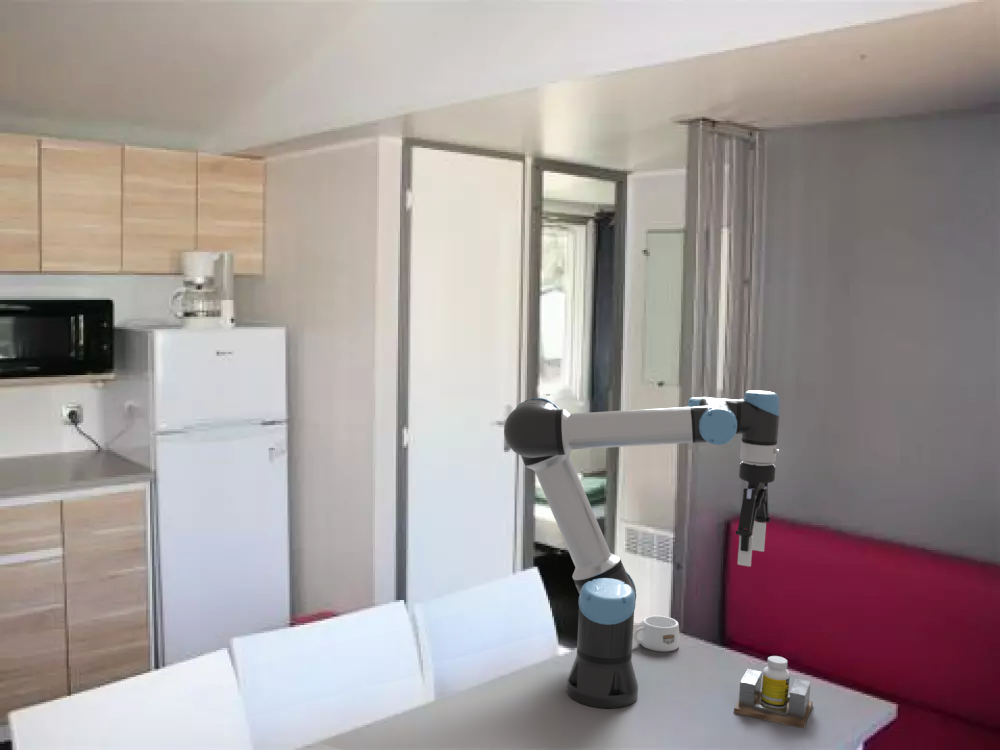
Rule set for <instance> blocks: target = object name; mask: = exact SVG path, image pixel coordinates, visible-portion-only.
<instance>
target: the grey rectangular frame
mask: <svg viewBox="0 0 1000 750" xmlns="http://www.w3.org/2000/svg"><path fill="white" fill-rule="evenodd" d="M762 680H763V671H760V670H757V669H751V668H747V669H746V672H745V673H744V674H743V676H742V678H741V680H740V681H739V696H738V700H739V705H741V706H745V707H750V708H753V710H757V711H761V712H766V713H770V714H775V715H779V716H784V717H787V716H790V717H795V718H799V719H804V716H805V713H806V711H807V708H808V705H809V701H810V694H811V693H810V692H811V683H812V682H811V681H810V680H805V679H799V678H795V679H794V682H793V685H792V687H791V689H790V690H789V694H788V701H789V710H788V711H785V710H781V709H776V708H772V707H767V706H762V705H758V704H756V702H757V700H758V698H759V696H760V693H761V691H762Z"/></svg>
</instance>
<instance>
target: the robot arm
mask: <svg viewBox="0 0 1000 750" xmlns="http://www.w3.org/2000/svg"><path fill="white" fill-rule="evenodd" d="M780 416H781V414H780V396H779V395H778V394H777V393H776V392H772V391H768V390H747V391H746V392H745V393H744V396H743V398H740V399H735V398H734V399H731V398H721V397H720V398H717V397H707V396H702V397H700V396H699V397H698V396H696V397H695V396H692V397H690V398H689V399H688V401H687V406H683V407H682V406H680V407H679V406H678V407H666V408H665V407H664V408H647V409H646V408H644V409H630V410H629V409H628V410H626V409H625V410H612V411H597V412H595V411H594V412H581V413H580V412H579V413H577V412H575V413H569V411H567V410H566V409H564V408H561V409H560V407H559V406H558V405H557V404H556V403H555V402H553V401H551V400H549V399H548V398H547V399H546V398H542V397H535V398H530V399H525V400H524V401H522V402H520V403H519V404H518V405H517V406H516V407H515V409H513V410H512V411H511V412H510V413H509V414H508V416H507V418H506V420H505V423H504V427H503V435H504V440H505V441H506V444H507V445H508V447H509V448H510V449H511V451H512V452H514V453H515V454H516V455H518V456H520V457H521V460H522V462H523V464H524V466H525V467H526V468H528V469H530V470H533V471H534V473H535V475H536V477H537V480H538V482H539V484H540V487H541V490H542V492H543V494H544V497H545V498H546V501H547V503H548V506H549V508H550V511H551V512H552V513H551V514H552V515H553V518H554V520H555V522H556V524H557V528H558V529H559V532H560V533H561V536H562V539H563V541H564V544H565V546H566V548H567V551H568V553H569V556H570V558H571V560H572V562H573V565H574V567H575V568H574V571H573V573H572V579H573V581H574V584H575V587H576V589H577V592H578V594H579V596H578V620H577V621H578V623H577V625H578V626H577V641H576V642H577V644H576V645H577V646H576V656H575V658H574V659H575V660H574V661H573V664H572V667H571V669H570V672H569V674H568V677H567V681H566V693H567V694H568V696H569V697H570V698H571V699H573V700H574V701H576V702H578V703H580V704H583V705H587V706H588V707H589V706H590V707H594V708H603V709H614V708H616V709H617V708H622V707H627V706H629V705H632V704H634V702H636V701H637V700H638V697H639V692H638V691H639V684H638V679H637V677H636V673H635V669H634V668H635V667H634V665H633V661H632V660H633V658H632V656H633V642H634V641H633V639H634V636H633V635H634V621H635V620H634V618H635V610H636V601H637V589H636V585H635V582H634V580H633V578H632V576H630V574H629V573H628V572H627V570H626V569H625V568H626V567H625V566H624V564H623V563H622V559H621V557H620V556H618V555H616V554H614V553H612V552H611V551H610V548H609V546H608V543H607V541H606V539H605V536H604V534H603V532H602V529H601V527H600V525H599V522H598V520H597V518H596V515H595V513H594V511H593V508H592V506H591V503H590V501H589V499H588V496H587V494H586V492H585V489H584V487H583V484H582V482H581V480H580V478H579V475H578V472H577V471H576V469H575V466H574V464H573V461H572V458H571V452H572V451H573V450H586V449H589V450H590V449H604V448H605V449H606V448H608V449H609V448H623V447H639V446H642V447H643V446H656V445H674V444H676V445H677V444H700V443H702V444H703V443H704V444H705V443H708V444H712V445H717V446H719V445H721V446H722V445H725V444H727V443H729V442H731V441H732V440H733V438H734V437H735V436H736V435H741V441H740V442H741V443H740V454H739V459H740V460H741V462H740V463H739V472H738V474H739V475H738V477H739V479H740V480H742V481H746V482H747V483H748V484H747V488H746V487H745V488H743V495H742V503H741V508H740V515H739V520H738V527H737V530H735V535H736V536H739V538H738V551H737V565H739V566H744V567H748V568H749V567H752V556H753V551H757V552H765V544H766V530H767V523H770V522H771V517H769V515H770V513H769V493H768V492H769V486H768V485H769V484H770V483H773V482H775V480H776V479H775V478H776V468H777V467H776V465H775V464H774V463H775V462H776V461H777V460H776V459H777V454H779V453H780V450H779V448H777V445H778V436H779V425H780V424H779V423H780Z"/></svg>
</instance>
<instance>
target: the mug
mask: <svg viewBox="0 0 1000 750" xmlns="http://www.w3.org/2000/svg"><path fill="white" fill-rule="evenodd" d="M639 632H640V634H639V639H638V637H637V635H638V633H639ZM633 639H634V641H635V643H636V644H640V645H641V646H642V647H643V648H645V649H647V650H649V651H654V652H661V653H667V652H673V651H676V650H677V649H678V648H679V647H680V642H681V641H680V626H679V621H677V620H676V619H675V618H672V617H669V616H664V615H649V616H645V617H644V618H643V619H642V623H641V627H639V626H638V627H637V628H636V629H635V630H634V631H633Z"/></svg>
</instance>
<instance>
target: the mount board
mask: <svg viewBox="0 0 1000 750" xmlns="http://www.w3.org/2000/svg"><path fill="white" fill-rule="evenodd" d="M756 704H758V705H762V706H764V705H763V704H762V703H761V693H760V696H759V698H758V700H757V702H756ZM812 709H813V700H809V705H808V708H807V711H806V713H805V716H804V719H799V718H795V717H790V716H787V717H784V716H779V715H775V714H770V713H766V712H761V711H757V710H753V708H750V707H745V706H741V705H739V699H738V701H737V703H736V704H735V705H734V708H733V713H734V714H738V715H742V716H747V717H750V718H756V719H759V720H764V721H768V722H773V723H777V724H782V725H787V726H791V727H794V728H800V729H805V727H806V724H807V722H808V718H809V717H810V713H811V711H812ZM781 710H785V711H788V710H789V701H788V702H787V707H786V708H784V709H781Z"/></svg>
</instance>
